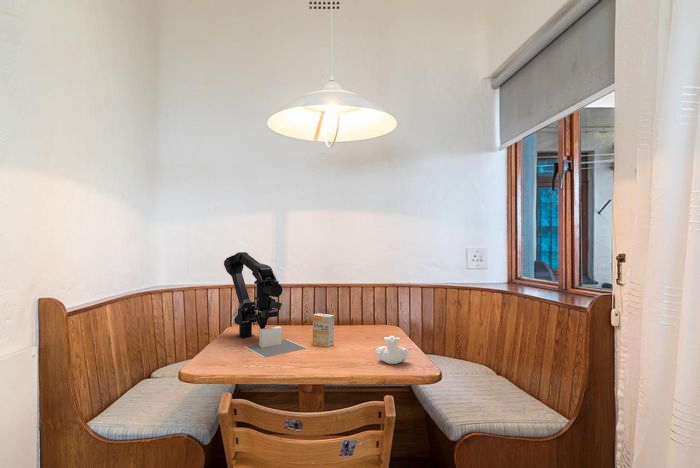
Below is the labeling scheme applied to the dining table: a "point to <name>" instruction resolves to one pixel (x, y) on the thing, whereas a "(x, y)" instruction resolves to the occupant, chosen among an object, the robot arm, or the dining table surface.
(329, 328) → the supplement box
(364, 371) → the dining table surface
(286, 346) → the mat
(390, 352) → the white animal figurine
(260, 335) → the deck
